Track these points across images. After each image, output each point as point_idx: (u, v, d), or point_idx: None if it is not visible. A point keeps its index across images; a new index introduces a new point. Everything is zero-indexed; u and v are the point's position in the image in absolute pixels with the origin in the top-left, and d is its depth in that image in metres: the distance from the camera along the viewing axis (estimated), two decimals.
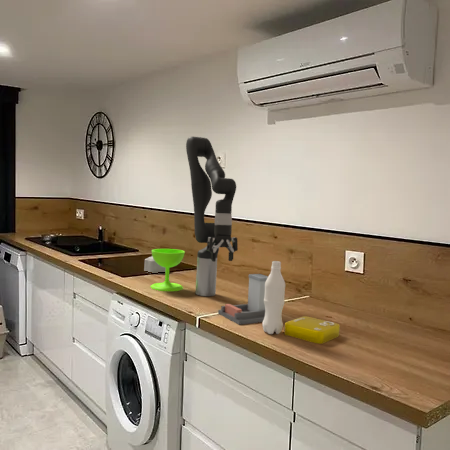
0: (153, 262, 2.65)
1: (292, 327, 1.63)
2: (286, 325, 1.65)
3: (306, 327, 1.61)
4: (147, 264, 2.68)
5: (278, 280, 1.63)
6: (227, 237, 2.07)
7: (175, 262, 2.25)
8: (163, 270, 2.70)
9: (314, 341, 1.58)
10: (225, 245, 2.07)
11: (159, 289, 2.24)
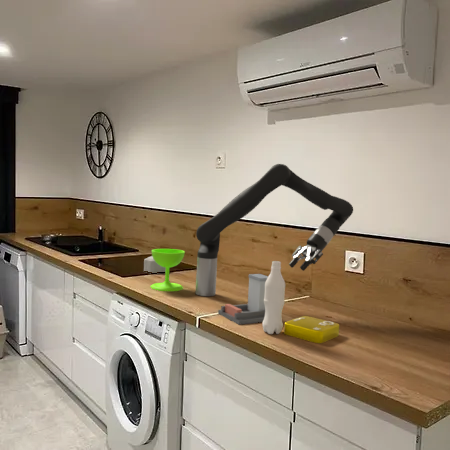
0: (153, 262, 2.66)
1: (292, 327, 1.63)
2: (286, 325, 1.65)
3: (305, 327, 1.62)
4: (147, 264, 2.68)
5: (278, 280, 1.63)
6: None
7: (175, 262, 2.25)
8: (163, 270, 2.70)
9: (313, 341, 1.58)
10: None
11: (159, 289, 2.24)
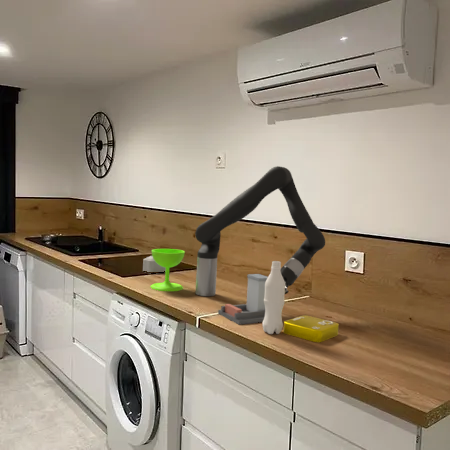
0: (152, 262, 2.66)
1: (291, 326, 1.64)
2: (285, 324, 1.66)
3: (304, 326, 1.62)
4: (146, 264, 2.68)
5: (278, 280, 1.63)
6: None
7: (175, 262, 2.25)
8: (162, 270, 2.70)
9: (312, 340, 1.59)
10: None
11: (159, 289, 2.24)
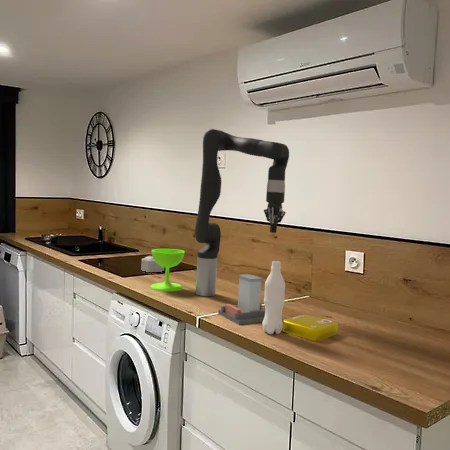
0: (151, 262, 2.66)
1: (290, 324, 1.66)
2: (284, 322, 1.68)
3: (303, 324, 1.64)
4: (144, 264, 2.68)
5: (278, 280, 1.63)
6: None
7: (175, 262, 2.25)
8: (160, 270, 2.70)
9: (310, 338, 1.61)
10: None
11: (159, 289, 2.24)
